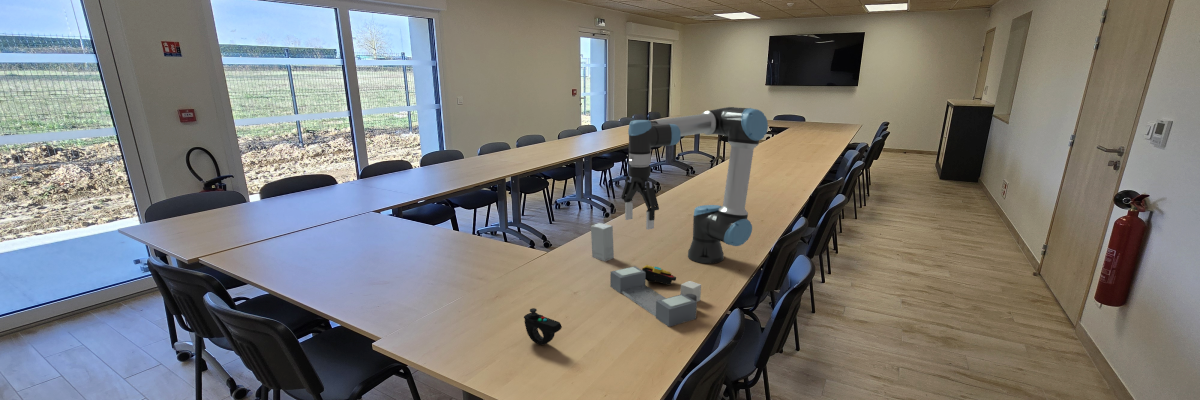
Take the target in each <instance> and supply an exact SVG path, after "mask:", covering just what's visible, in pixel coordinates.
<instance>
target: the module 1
mask: <svg viewBox="0 0 1200 400" xmlns="http://www.w3.org/2000/svg"><path fill="white" fill-rule="evenodd" d="M645 278H646V272H644V271H643V270H642V269H641V268H639V267H638V266H635V265H634V266H629V267H625V268H620V269H616V270H612V271H610V278H609V279H610V284H609V285H610V288H612V289H613V290H615V291H616V292H617V293H619V294H622V293H621V290H624V289H628V288H632V287H636V286H640V285H646V279H645Z"/></svg>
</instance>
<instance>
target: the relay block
mask: <svg viewBox="0 0 1200 400" xmlns="http://www.w3.org/2000/svg"><path fill="white" fill-rule="evenodd" d="M701 293H702V284H701V283H699V282H698V283H697V282H694V281H692V280H688V281H686V282H683V283H682V284H680V294H679V295H681V294H684V295H686V294H694V295H696V296H697V303H698V302H700V301H701V295H702V294H701Z"/></svg>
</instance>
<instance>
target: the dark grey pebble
mask: <svg viewBox="0 0 1200 400" xmlns="http://www.w3.org/2000/svg"><path fill="white" fill-rule="evenodd" d="M686 296H687V297H689V298H691V299H693V300H694V301H696V302H697V296H696V295H694V294H686ZM697 303H698V302H697Z"/></svg>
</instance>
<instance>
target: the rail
mask: <svg viewBox="0 0 1200 400" xmlns="http://www.w3.org/2000/svg"><path fill="white" fill-rule="evenodd" d="M620 294H621V295H624V296H625V297H626V298H628V299H629V300H631V301H632V302H634V303H635V304H637V306H639V307H641V308H642V309H644V310H645V311H647V312H648V313H650V314H651V315H652V316H654V317H655V318H656V301H658V300H662V299H666V296H664V295H662V294H660V293H659V292H657V291H655V290H654V289H652V288H651V287H649V286H647V285H646V284H645V285H640V286H636V287H632V288H628V289H624V290H621V293H620Z"/></svg>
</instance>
